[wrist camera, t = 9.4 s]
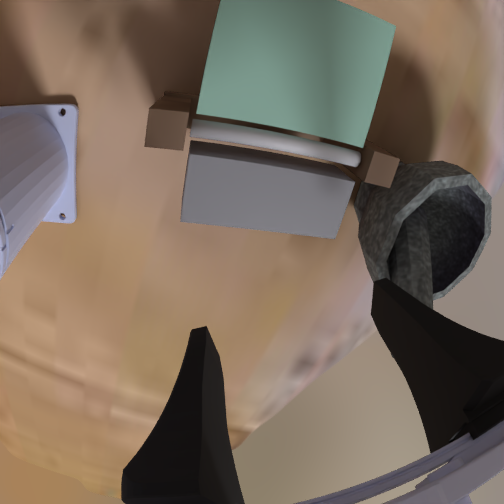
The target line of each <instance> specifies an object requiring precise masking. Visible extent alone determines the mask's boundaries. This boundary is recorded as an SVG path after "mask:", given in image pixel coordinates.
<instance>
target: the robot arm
mask: <svg viewBox="0 0 504 504" xmlns="http://www.w3.org/2000/svg"><path fill="white" fill-rule="evenodd" d="M62 108H63V109H65V110H66V114H65V115H62V114H61V109H62ZM78 112H79V111H78V107H77V106H76V105H75V104H32V105H14V106H0V279H1V278H2V276H3V275H4V273H5V272H6V270H7V268H8V267H9V265H10V264H11V262H12V261H13V259H14V258H15V257H16V255H17V254H18V252H19V251H20V249H21V248H22V247H23V245H24V244H25V242H26V241H27V240H28V238H29V237H30V235H31V234H32V233H33V231H34V230H35V229H36V227H37V226H38V225H39V224H40V222H41V221H48V222H60V223H73V222H74V221H75V219H76V218H77V207H76V146H77V126H78ZM61 213H64V214H65V216H66V217H62V216H61ZM371 316H372V318H373V320H374V323H375V325H376V327H377V329H378V331H379V334H380V335H381V337H382V339H383V340H384V342H385V344H386V345H387V347H388V349H389V350H390V352H391V354H392V355H393V357H394V359H395V360H396V362H397V364H398V366H399V367H400V369H401V371H402V372H403V374H404V376H405V378H406V381H407V383H408V385H409V387H410V390H411V392H412V395H413V397H414V400H415V402H416V405H417V408H418V411H419V414H420V416H421V419H422V423H423V426H424V429H425V433H426V437H427V440H428V444H429V448H430V453H431V454H429V455H427V456H425V457H423V458H421V459H419V460H417V461H415V462H413V463H410V464H408V465H406V466H404V467H402V468H399V469H397V470H395V471H392V472H390V473H388V474H385V475H383V476H380V477H378V478H375V479H372V480H370V481H367V482H365V483H362V484H359V485H356V486H353V487H350V488H348V489H344V490H341V491H338V492H335V493H332V494H328V495H325V496H321V497H318V498H314V499H310V500H307V501H303V502H299V503H295V504H355V503H357V502H360V501H363V500H366V499H368V498H371V497H374V496H376V495H379V494H381V493H384V492H386V491H389V490H391V489H394V488H396V487H398V486H401V485H403V484H405V483H407V482H409V481H412V480H414V479H416V478H418V477H420V476H422V475H424V474H426V473H428V472H430V471H432V470H434V469H436V468H438V467H440V466H441V465H443V464H445V463H447V462H448V463H447V464H445V465H444V466H442V467H441V468H439V469H437V470H436V471H434V472H432V473H431V474H429V475H428V476H427V478H425V479H424V480H423V481H422V482H420V483H419V484H417V485H416V486H415V488H416V489H415V490H413V491H411V492H409V493H406V494H405V495H402V496H400V497H397V498H395V499H392V500H390V501H388V502H385V503H383V504H472V502H471V500H470V497H469V495H468V494H469V493H471V492H472V491H474V490H476V489H477V488H478V487H480V486H481V485H483V484H484V483H486V482H487V481H489V480H490V479H491V478H493V477H494V476H496V475H497V474H498V473H500V472H501V471H502V470H504V341H502V340H498V339H495V338H492V337H489V336H486V335H483V334H480V333H478V332H476V331H473V330H471V329H468V328H466V327H464V326H462V325H460V324H458V323H456V322H454V321H452V320H450V319H448V318H446V317H444V316H443V315H441V314H439V313H438V312H436V311H434V310H433V309H431V308H430V307H428V306H426V305H425V304H423V303H422V302H420V301H419V300H417V299H416V298H415V297H413V296H412V295H410V294H409V293H407V292H406V291H405V290H403V289H402V288H400V287H399V286H398V285H396V284H395V283H393V282H392V281H391V280H389V279H388V278H383V279H380V280H376V281H374V286H373V298H372V308H371ZM121 498H122V501H123V502H124V503H125V504H245V503H244V500H243V496H242V492H241V488H240V485H239V481H238V476H237V472H236V469H235V464H234V459H233V455H232V450H231V445H230V440H229V435H228V429H227V420H226V406H225V392H224V379H223V372H222V367H221V362H220V356H219V354H218V352H217V349H216V347H215V345H214V342H213V340H212V338H211V335H210V333H209V331H208V328H207V326H205V327H201V328H196V329H192V330H191V332H190V337H189V341H188V345H187V349H186V353H185V356H184V359H183V363H182V366H181V369H180V372H179V375H178V378H177V380H176V383H175V385H174V388H173V391H172V393H171V395H170V398H169V400H168V402H167V404H166V406H165V408H164V410H163V412H162V414H161V416H160V418H159V420H158V421H157V423H156V425H155V427H154V428H153V430H152V432H151V433H150V435H149V436H148V438H147V439H146V441H145V442H144V444H143V445H142V447H141V448H140V450H139V451H138V452H137V454H136V455H135V456H134V457H133V458H132V460H131V461H130V462H129V463H128V465H127V466H126V467H125V468H124V469H123V475H122V482H121Z"/></svg>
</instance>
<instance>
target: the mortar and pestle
mask: <svg viewBox="0 0 504 504" xmlns="http://www.w3.org/2000/svg"><path fill="white" fill-rule="evenodd" d="M354 208H355V211H356V214H357V217H358V221H359V234H358V238H359V241H360V244H361V248H362V251H363V255H364V258H365V262H366V265H367V269H368V271H369V273H370V276H371V278H372V280H373V283H374V281H376V280H380V279H383V278H388V279H389V280H391V281H392V282H393V283H395V284H396V285H398V286H399V287H400V288H402V289H403V290H405V291H406V292H407V293H409V294H410V295H412V296H413V297H415V298H416V299H417V300H419V301H420V302H422V303H423V304H425V305H426V306H428V307H430V308H431V309H433V300H436V299H438V298H441V297H444V296H445V295H446V294H447V293H448V292H449V291H450V290H451V289H453V287H455V286H456V285H457V284H458V283H459V282H460V281H461V280H462V279H463V278H464V277H465V276H466V275H467V274H468V273H470V272H471V271H472V269H473V268H474V266H475V264H476V262H477V260H478V258H479V256H480V254H481V252H482V250H483V248H484V246H485V244H486V242H487V240H488V238H489V236H490V233H491V196H490V195H489V194H488V192H487V191H486V190H485V189H484V188H483V186H482V185H481V184H480V183H479V182H478V180H477V179H476V178H475V177H474V176H473V175H472V174H471V173H469V172H468V171H466V170H464V169H463V168H461V167H459V166H457V165H454V164H451V163H448V162H444V161H433V162H422V163H413V164H404V163H403V162H399V164H398V167H397V170H396V173H395V175H394V178H393V181H392V184H391V186H390V188H387V187H383V186H379V185H375V184H371V183H366V182H364V181H361V184H360V188H359V191H358V194H357V197H356V200H355V203H354ZM391 355H392V354H391ZM392 357H393V355H392ZM393 358H394V357H393Z"/></svg>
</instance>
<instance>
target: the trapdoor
mask: <svg viewBox="0 0 504 504" xmlns="http://www.w3.org/2000/svg"><path fill="white" fill-rule="evenodd" d="M395 29H396V26H395V25H393V24H391V23H388V22H386V21H384V20H382V19H380V18H378V17H376V16H374V15H371V14H369V13H367V12H364V11H362V10H360V9H357V8H355V7H353V6H350V5H348V4H345V3H342V2H340V1H337V0H220V4H219V8H218V12H217V16H216V20H215V25H214V29H213V33H212V37H211V42H210V46H209V51H208V55H207V60H206V65H205V69H204V74H203V79H202V84H201V89H200V94H199V100H198V105H197V111H196V114H202V115H209V116H216V117H223V118H229V119H236V120H242V121H247V122H253V123H258V124H264V125H269V126H274V127H279V128H284V129H289V130H293V131H298V132H302V133H307V134H311V135H315V136H319V137H323V138H327V139H331V140H335V141H339V142H343V143H347V144H350V145H354V146H358V147H361V148H363V146H364V143H365V140H366V136H367V133H368V130H369V127H370V123H371V120H372V116H373V113H374V110H375V106H376V103H377V99H378V95H379V92H380V88H381V84H382V81H383V77H384V73H385V69H386V66H387V62H388V58H389V54H390V50H391V46H392V41H393V37H394V33H395ZM190 137H196V138H204V139H211V140H218V141H225V142H232V143H238V144H245V145H251V146H257V147H263V148H268V149H274V150H279V151H284V152H290V153H295V154H300V155H305V156H309V157H314V158H319V159H323V160H328V161H332V162H336V163H341V164H345V165H349V166H353V167H357V166H358V165H359V164H360V161H361V154H360V152H358V151H354V150H351V149H347V148H343V147H339V146H335V145H331V144H327V143H323V142H319V141H315V140H310V139H306V138H302V137H297V136H292V135H288V134H283V133H278V132H273V131H268V130H262V129H257V128H251V127H245V126H239V125H233V124H227V123H220V122H213V121H206V120H199V119H193V120H192V126H191V132H190ZM354 184H355V182H354V181H353V180H352V179H351V178H350V177H348V176H347V175H346V174H345V173H344V172H342V171H341V170H340V169H339V168H338V167H336V166H335V165H332V164H327V163H322V162H318V161H313V160H308V159H303V158H299V157H293V156H288V155H283V154H278V153H272V152H267V151H261V150H255V149H249V148H243V147H236V146H229V145H223V144H215V143H208V142H200V141H192V140H191V141H190V147H189V154H188V160H187V167H186V174H185V181H184V188H183V196H182V207H181V222H188V223H197V224H207V225H217V226H226V227H236V228H245V229H254V230H263V231H272V232H280V233H289V234H298V235H306V236H314V237H322V238H331V239H335V238H336V235H337V232H338V230H339V227H340V224H341V221H342V219H343V216H344V213H345V210H346V207H347V205H348V202H349V199H350V196H351V193H352V190H353V187H354Z"/></svg>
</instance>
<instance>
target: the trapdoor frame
mask: <svg viewBox="0 0 504 504" xmlns="http://www.w3.org/2000/svg"><path fill="white" fill-rule="evenodd" d="M198 100H199V95H193V94H185V93H176V92H166V91H165V92H164V96H163V97H161V98H160V99H159V100H158V101H157V102H156V103H155V104H154V105H153V106H151V107H150V108H149V114H148V121H147V129H146V138H145V146H144V147H153V148H163V149H173V150H182V151H183V148H184V142H185V135H186V129H187V128H191V126H192V120H193V119H199V120H206V121H213V122H220V123H227V124H233V125H239V126H245V127H251V128H257V129H262V130H268V131H273V132H278V133H283V134H288V135H292V136H297V137H302V138H306V139H310V140H315V141H319V142H323V143H327V144H331V145H335V146H339V147H343V148H347V149H351V150H354V151H358V152H360V154H361V161H360V164H359V165H358V166H357V167H353V166H349V165H345V164H342V165H344V166H345V167H346V168H347V169H349V170H350V171H351V172H353V173H354V174H355V175H356V176H358V177H359V178H360V179H361V180H362V181H364V182H366V183H371V184H375V185H379V186H383V187H387V188H390V186H391V184H392V181H393V178H394V175H395V173H396V170H397V167H398V164H399V161H400V159H399V158H397V157H396V156H394V155H392V154H391V153H389V152H387V151H385V150H384V149H382V148H380V147H378V146H377V145H375V144H373V143H371V142H369V141H368V140H365V143H364V146H363V148H361V147H358V146H354V145H350V144H347V143H343V142H339V141H335V140H331V139H327V138H323V137H319V136H315V135H311V134H307V133H302V132H298V131H293V130H289V129H284V128H279V127H274V126H269V125H264V124H258V123H253V122H247V121H242V120H236V119H229V118H223V117H216V116H209V115H202V114H196V111H197V105H198Z"/></svg>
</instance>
